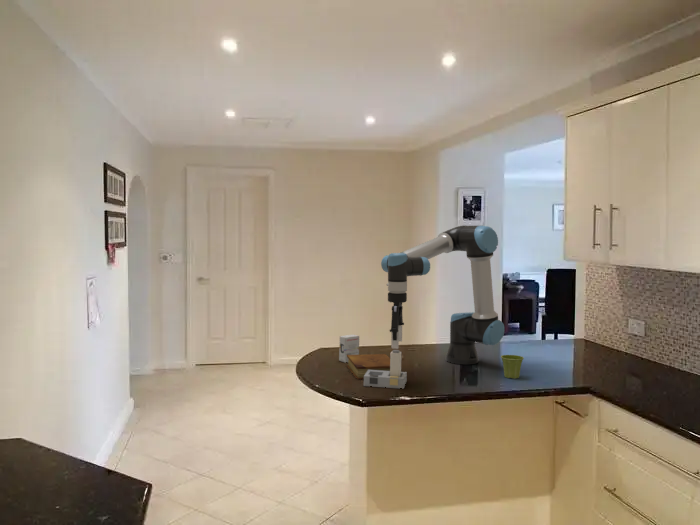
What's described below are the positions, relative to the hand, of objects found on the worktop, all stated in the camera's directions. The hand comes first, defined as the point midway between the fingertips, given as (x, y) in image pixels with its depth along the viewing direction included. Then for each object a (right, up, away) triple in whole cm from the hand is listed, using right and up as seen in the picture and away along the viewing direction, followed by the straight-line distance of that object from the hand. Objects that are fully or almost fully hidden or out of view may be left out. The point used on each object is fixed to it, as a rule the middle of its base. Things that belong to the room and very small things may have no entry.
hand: (396, 344), depth 242 cm
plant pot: (+50, -16, +16) cm, 55 cm away
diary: (-9, -15, +21) cm, 28 cm away
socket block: (-4, -16, +2) cm, 17 cm away
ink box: (-19, -13, +41) cm, 48 cm away
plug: (-1, -15, +1) cm, 15 cm away
